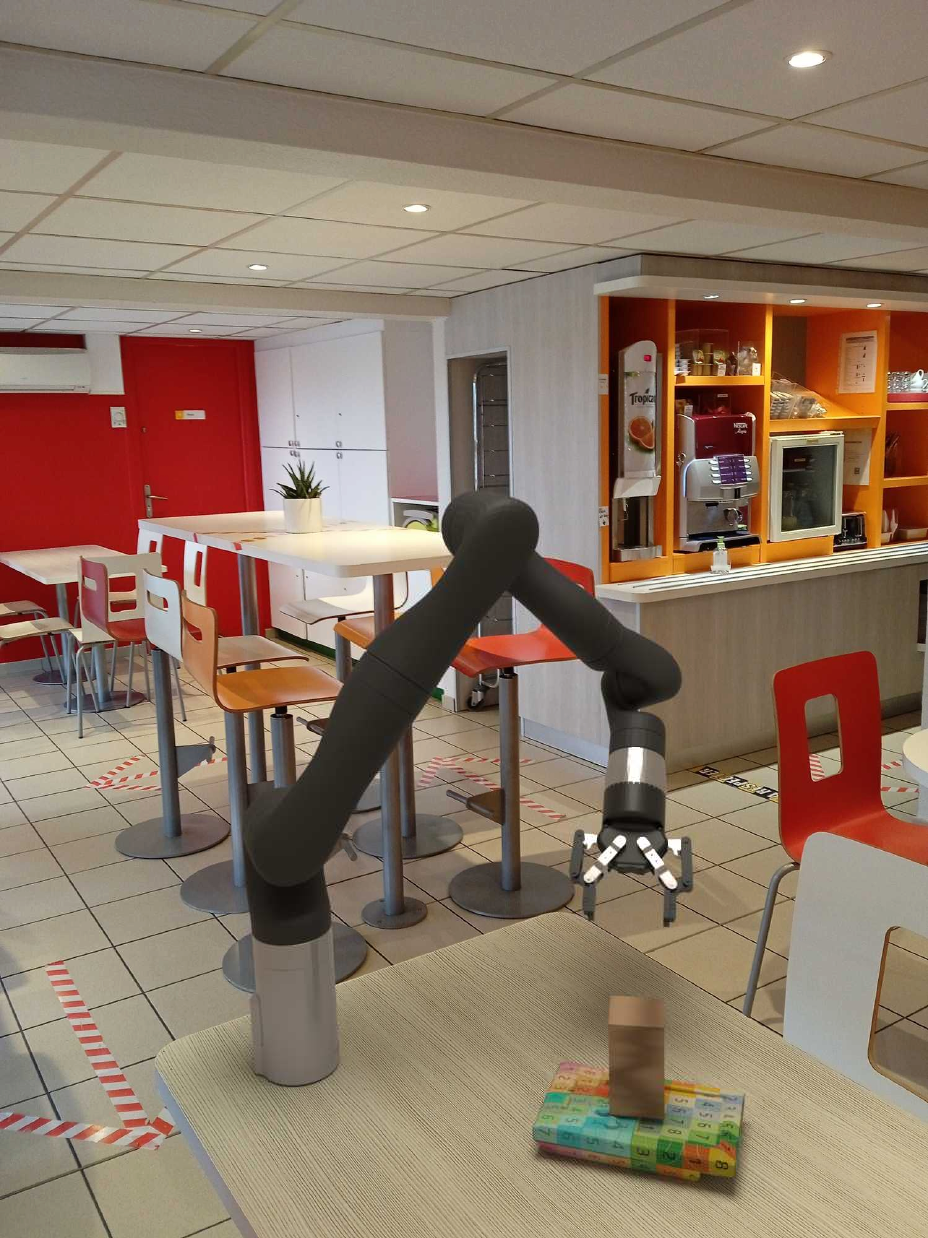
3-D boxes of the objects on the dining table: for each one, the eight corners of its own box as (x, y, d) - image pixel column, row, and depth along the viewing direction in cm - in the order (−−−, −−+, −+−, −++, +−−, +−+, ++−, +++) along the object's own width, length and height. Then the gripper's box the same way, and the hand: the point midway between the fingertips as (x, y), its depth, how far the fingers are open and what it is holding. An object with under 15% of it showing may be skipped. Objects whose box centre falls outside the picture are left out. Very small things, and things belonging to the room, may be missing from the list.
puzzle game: (560, 1055, 115) (744, 1085, 109) (560, 1093, 116) (744, 1126, 109) (532, 1119, 104) (735, 1157, 98) (533, 1161, 105) (735, 1202, 99)
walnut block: (609, 1115, 105) (608, 1024, 103) (611, 1082, 110) (610, 995, 108) (664, 1119, 104) (664, 1027, 102) (663, 1086, 109) (663, 998, 107)
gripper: (574, 775, 125) (563, 904, 116) (694, 782, 122) (692, 915, 113) (579, 803, 131) (568, 928, 122) (693, 810, 128) (691, 938, 119)
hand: (628, 921), depth 117 cm, fingers open, 8 cm apart
